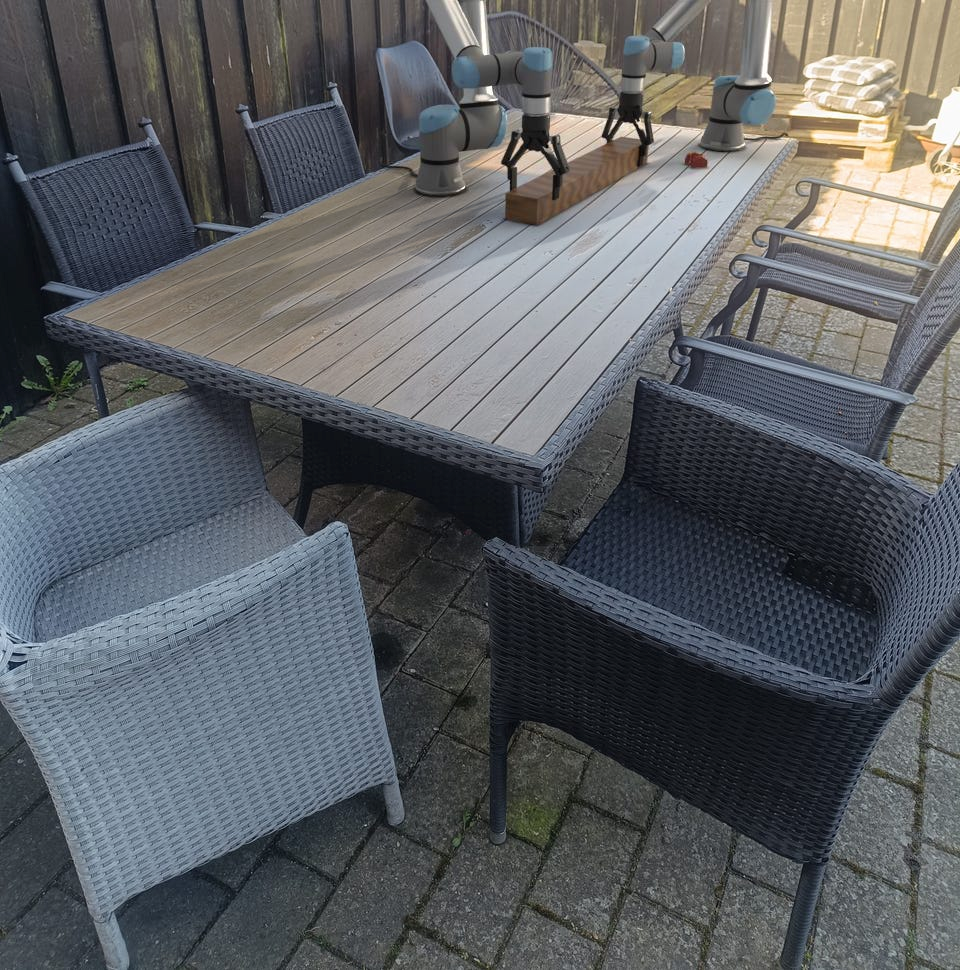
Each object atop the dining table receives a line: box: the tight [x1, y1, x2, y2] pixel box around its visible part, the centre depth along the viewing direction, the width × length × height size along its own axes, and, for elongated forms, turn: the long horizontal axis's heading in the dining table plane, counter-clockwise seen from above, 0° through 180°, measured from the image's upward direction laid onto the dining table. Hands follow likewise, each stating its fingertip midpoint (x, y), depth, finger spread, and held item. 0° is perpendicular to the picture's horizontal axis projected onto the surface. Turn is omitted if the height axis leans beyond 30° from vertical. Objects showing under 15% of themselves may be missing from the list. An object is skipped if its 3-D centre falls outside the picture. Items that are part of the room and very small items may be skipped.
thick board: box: [504, 136, 650, 226], centre depth 257 cm, size 75×10×7 cm, turn 147°
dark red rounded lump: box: [683, 151, 709, 169], centre depth 279 cm, size 6×4×8 cm
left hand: (534, 195), depth 234 cm, fingers open, 13 cm apart
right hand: (624, 163), depth 280 cm, fingers closed on thick board, 10 cm apart
